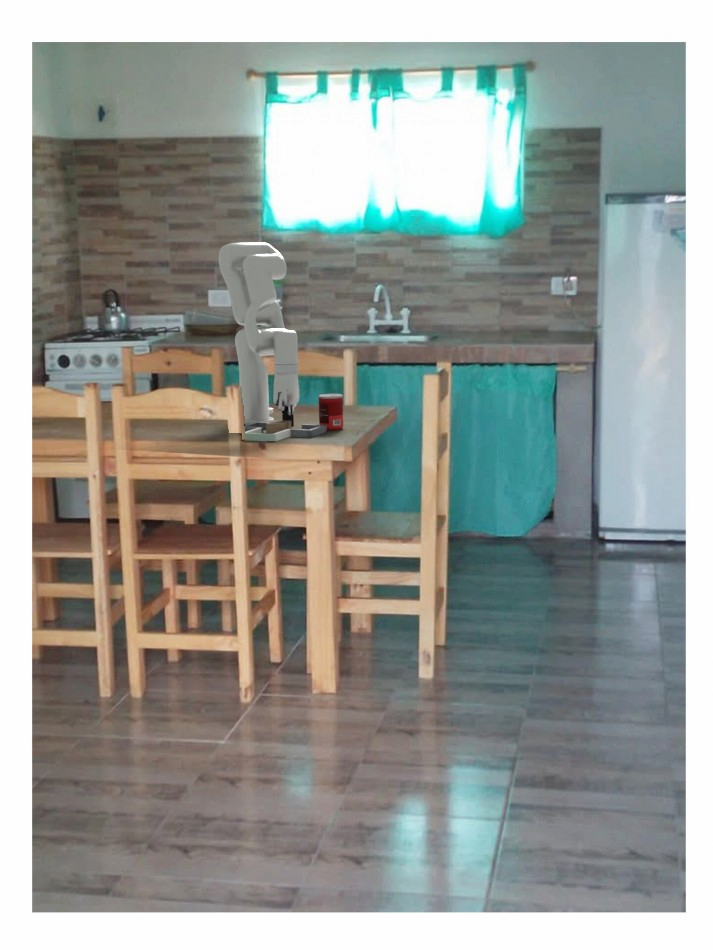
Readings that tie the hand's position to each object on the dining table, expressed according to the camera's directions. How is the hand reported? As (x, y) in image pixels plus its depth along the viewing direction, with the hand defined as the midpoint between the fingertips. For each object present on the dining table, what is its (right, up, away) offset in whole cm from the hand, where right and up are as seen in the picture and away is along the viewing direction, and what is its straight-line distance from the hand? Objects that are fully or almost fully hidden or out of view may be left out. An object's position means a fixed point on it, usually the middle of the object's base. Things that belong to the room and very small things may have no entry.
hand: (288, 426), depth 399 cm
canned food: (+14, -1, +3) cm, 14 cm away
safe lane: (-6, -4, -13) cm, 14 cm away
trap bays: (-2, -2, -3) cm, 4 cm away
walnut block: (-3, -3, -5) cm, 6 cm away
